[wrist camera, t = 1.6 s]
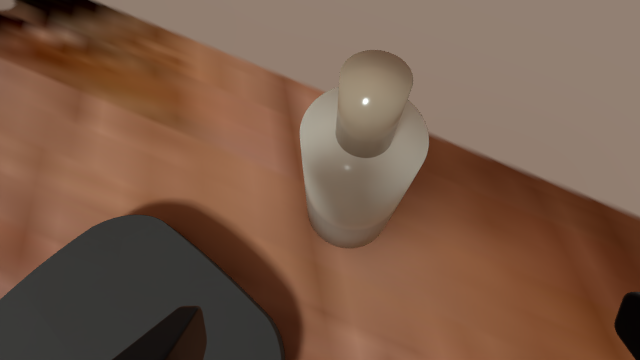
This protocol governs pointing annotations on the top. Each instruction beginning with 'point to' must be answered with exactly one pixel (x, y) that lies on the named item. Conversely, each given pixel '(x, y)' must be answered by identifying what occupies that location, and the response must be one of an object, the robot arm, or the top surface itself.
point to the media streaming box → (129, 298)
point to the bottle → (361, 149)
